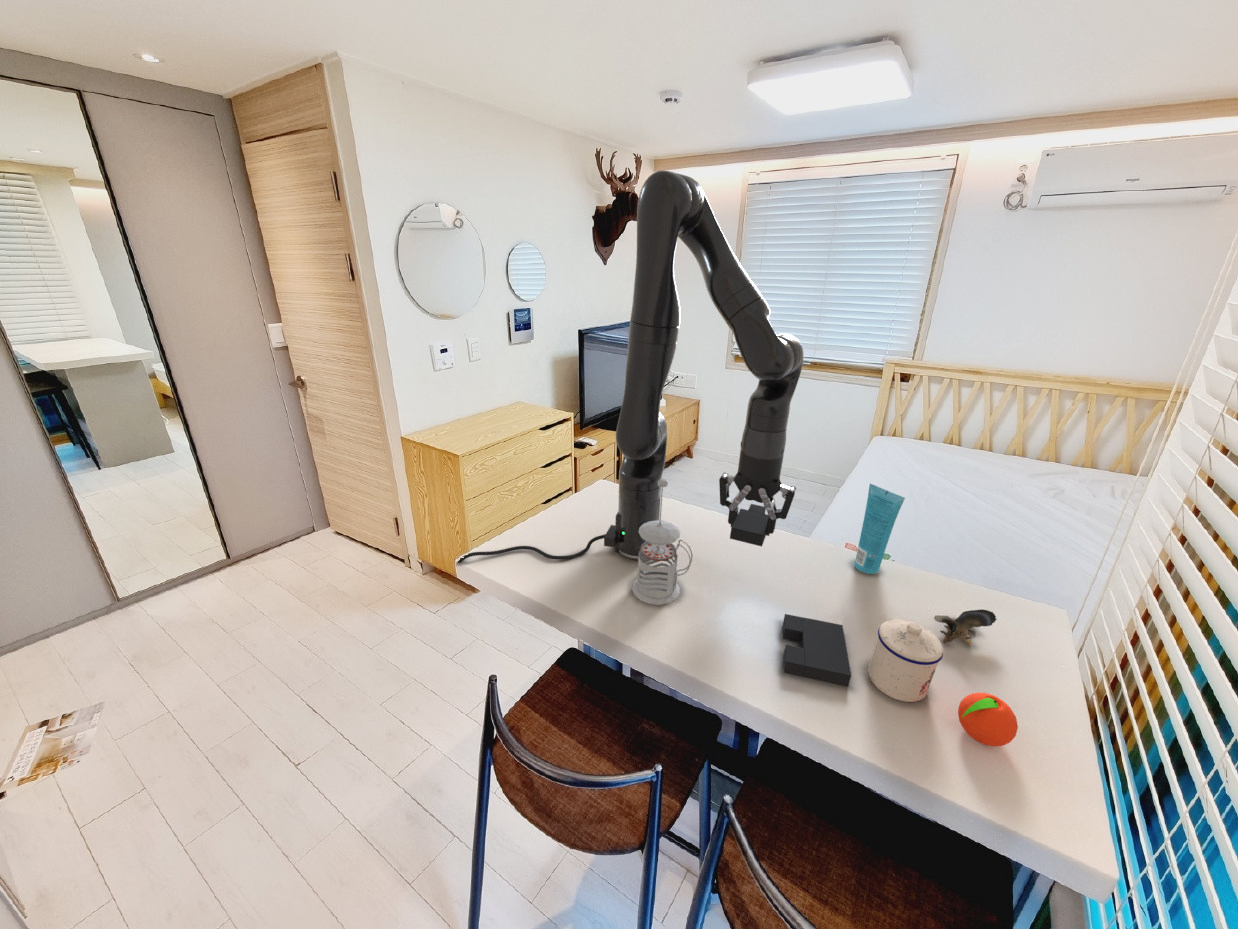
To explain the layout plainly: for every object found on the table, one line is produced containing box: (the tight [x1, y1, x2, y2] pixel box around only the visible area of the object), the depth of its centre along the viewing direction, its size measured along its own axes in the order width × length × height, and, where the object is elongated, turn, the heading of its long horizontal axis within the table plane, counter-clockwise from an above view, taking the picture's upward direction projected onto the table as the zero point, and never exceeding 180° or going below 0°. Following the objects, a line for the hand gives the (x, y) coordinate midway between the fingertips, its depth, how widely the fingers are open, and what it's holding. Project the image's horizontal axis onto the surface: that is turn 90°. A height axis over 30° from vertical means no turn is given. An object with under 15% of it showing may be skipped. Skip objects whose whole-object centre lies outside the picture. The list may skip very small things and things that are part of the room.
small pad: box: [729, 503, 769, 547], centre depth 98 cm, size 11×6×2 cm, turn 155°
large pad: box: [782, 613, 852, 688], centre depth 87 cm, size 10×12×2 cm
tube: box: [854, 483, 906, 575], centre depth 107 cm, size 7×5×19 cm, turn 39°
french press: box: [631, 478, 694, 606], centre depth 97 cm, size 10×12×25 cm
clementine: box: [957, 692, 1019, 747], centre depth 72 cm, size 8×7×7 cm
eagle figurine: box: [933, 609, 998, 646], centre depth 91 cm, size 8×7×9 cm
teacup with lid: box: [867, 619, 944, 703], centre depth 81 cm, size 12×9×12 cm
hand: (750, 529), depth 97 cm, fingers closed on small pad, 6 cm apart
